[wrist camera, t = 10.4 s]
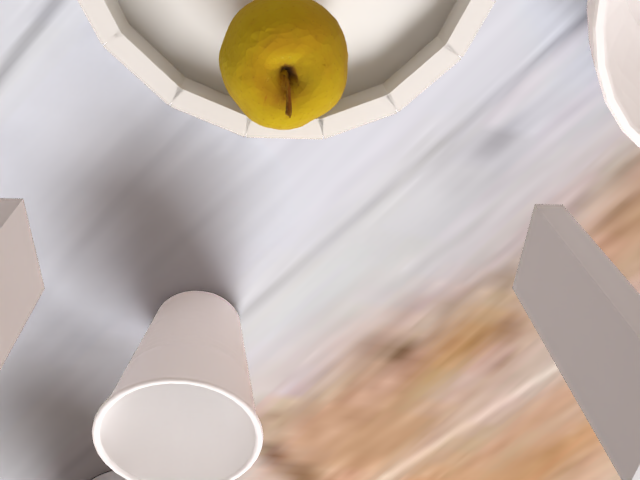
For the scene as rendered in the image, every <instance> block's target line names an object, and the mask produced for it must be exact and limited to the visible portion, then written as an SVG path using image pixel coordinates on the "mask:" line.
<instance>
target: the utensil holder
mask: <svg viewBox="0 0 640 480" xmlns="http://www.w3.org/2000/svg"><path fill="white" fill-rule="evenodd" d="M92 480H127V479H125V478H123V477H122V476H120V475H119V474H117V473H115V472H114V471H110V472H107V473H104V474H102V475H99V476H97V477H95V478H94V479H92Z"/></svg>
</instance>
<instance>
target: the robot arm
mask: <svg viewBox="0 0 640 480" xmlns="http://www.w3.org/2000/svg"><path fill="white" fill-rule="evenodd" d="M44 289H45V288H44V283H43V279H42V275H41V271H40V267H39V263H38V258H37V254H36V250H35V246H34V242H33V238H32V233H31V229H30V225H29V221H28V217H27V213H26V208H25V204H24V200H23V199H4V198H0V370H1V368H2V366H3V364H4V362H5V360H6V359H7V357H8V355H9V353H10V351H11V349H12V348H13V346H14V344H15V342H16V340H17V338H18V336H19V335H20V333H21V331H22V329H23V327H24V325H25V324H26V322H27V320H28V318H29V316H30V314H31V313H32V311H33V309H34V307H35V305H36V303H37V302H38V300H39V298H40V296H41V294H42V292H43V291H44ZM513 290H514V292H515V294H516V295H517V297H518V299H519V301H520V302H521V304H522V306H523V308H524V309H525V311H526V313H527V315H528V316H529V318H530V320H531V322H532V323H533V325H534V327H535V329H536V330H537V332H538V334H539V336H540V337H541V339H542V341H543V343H544V344H545V346H546V348H547V350H548V351H549V353H550V355H551V357H552V359H553V360H554V362H555V364H556V366H557V367H558V369H559V371H560V373H561V374H562V376H563V378H564V380H565V381H566V383H567V385H568V387H569V388H570V390H571V392H572V394H573V395H574V397H575V399H576V401H577V402H578V404H579V406H580V408H581V409H582V411H583V413H584V415H585V416H586V418H587V420H588V422H589V423H590V425H591V427H592V429H593V430H594V432H595V434H596V436H597V438H598V439H599V441H600V443H601V445H602V446H603V448H604V450H605V452H606V453H607V455H608V457H609V459H610V460H611V462H612V464H613V466H614V467H615V469H616V471H617V473H618V474H619V476H620V478H621V480H640V294H639V293H638V292H637V291H636V289H635V288H634V287H633V286H632V285H631V284H630V282H629V281H628V280H627V279H626V278H625V277H624V275H623V274H622V273H621V272H620V271H619V270H618V268H617V267H616V266H615V265H614V264H613V263H612V262H611V260H610V259H609V258H608V257H607V256H606V255H605V253H604V252H603V251H602V250H601V249H600V248H599V246H598V245H597V244H596V243H595V242H594V241H593V239H592V238H591V237H590V236H589V235H588V234H587V232H586V231H585V230H584V229H583V228H582V227H581V225H580V224H579V223H578V222H577V221H576V220H575V219H574V217H573V216H572V215H571V214H570V213H569V212H568V210H567V209H566V208H565V207H564V206H563V205H550V204H535V205H534V209H533V213H532V217H531V220H530V224H529V228H528V232H527V235H526V239H525V243H524V247H523V250H522V254H521V258H520V261H519V265H518V269H517V273H516V276H515V280H514V284H513Z"/></svg>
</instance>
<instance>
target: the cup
mask: <svg viewBox="0 0 640 480" xmlns="http://www.w3.org/2000/svg"><path fill="white" fill-rule="evenodd" d="M92 438H93V443H94V446H95V448H96V451H97V453H98V454H99V456H100V457H101V459H102V460H103V461H104V463H105V464H106V465H107V466H109V467H110V468H111V469H112V470H113V471H114V472H115V473H117V474H119V475H120V476H122V477H123V478H125V479H127V480H234V479H236V478H237V477H239V476H241V475H242V474H243V473H244V472H245V471H247V470H248V469H249V468H250V467H251V466H252V464H253V463H254V462H255V460H256V459H257V458H258V456H259V453H260V451H261V448H262V443H263V430H262V425H261V422H260V420H259V418H258V416H257V414H256V410H255V405H254V399H253V393H252V387H251V382H250V376H249V371H248V365H247V359H246V353H245V347H244V342H243V335H242V329H241V324H240V318H239V315H238V313H237V311H236V310H235V308H234V307H233V306H232V305H231V304H230V303H229V302H228V301H227V300H225V299H224V298H222V297H220V296H218V295H216V294H213V293H210V292H205V291H186V292H182V293H178V294H176V295H174V296H172V297H170V298H169V299H168V300H166V301H165V302H164V303H163V304H162V305H161V306H160V308H159V310H158V312H157V313H156V315H155V317H154V319H153V321H152V322H151V324H150V326H149V328H148V330H147V332H146V333H145V335H144V337H143V339H142V341H141V342H140V344H139V346H138V348H137V350H136V351H135V353H134V355H133V357H132V358H131V360H130V362H129V364H128V366H127V367H126V369H125V371H124V373H123V374H122V376H121V378H120V380H119V382H118V383H117V385H116V387H115V389H114V390H113V392H112V394H111V396H110V397H109V398H108V399H107V400H106V401H105V402H104V403H103V404H102V405H101V406H100V408H99V410H98V412H97V413H96V415H95V417H94V421H93V426H92Z"/></svg>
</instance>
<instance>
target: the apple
mask: <svg viewBox="0 0 640 480" xmlns="http://www.w3.org/2000/svg"><path fill="white" fill-rule="evenodd" d="M219 67H220V71H221V75H222V79H223V82H224V85H225V87H226V89H227V91H228V93H229V94H230V96H231V97H232V99H233V100H234V101H235V102H236V104H237V105H238V106H239V107H240V109H241V110H242V111H243V113H244V114H245V115H246V116H247V117H248V118H249V119H250V120H252V121H253V122H255V123H257V124H258V125H261V126H263V127H267V128H272V129H277V130H291V129H295V128H299V127H302V126H304V125H305V124H307V123H309V122H311V121H312V120H314V119H316V118H318V117H320V116H321V115H323V114H325V113H327V112H328V111H330V110H331V109H332V108H333V107H334V106H335V105H336V104H337V103H338V101H339V100H340V98H341V96H342V94H343V92H344V89H345V86H346V82H347V72H348V51H347V44H346V40H345V37H344V34H343V31H342V29H341V27H340V25H339V23H338V21H337V20H336V19H335V18H334V17H333V16H332V14H331V13H330V12H329V11H328V10H326V9H325V8H324V7H323V6H322V5H320V4H318V3H317V2H315V1H313V0H254V1H252V2H250V3H249V4H247V5H245V6H244V7H243V8H242V9H241V10H240V11H238V13H237V14H236V15H235V16H234V18H233V19H232V21H231V23H230V25H229V27H228V29H227V32H226V34H225V37H224V39H223V42H222V45H221V49H220V52H219Z"/></svg>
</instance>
